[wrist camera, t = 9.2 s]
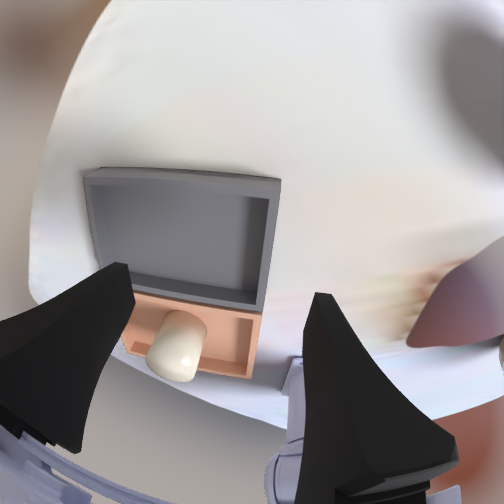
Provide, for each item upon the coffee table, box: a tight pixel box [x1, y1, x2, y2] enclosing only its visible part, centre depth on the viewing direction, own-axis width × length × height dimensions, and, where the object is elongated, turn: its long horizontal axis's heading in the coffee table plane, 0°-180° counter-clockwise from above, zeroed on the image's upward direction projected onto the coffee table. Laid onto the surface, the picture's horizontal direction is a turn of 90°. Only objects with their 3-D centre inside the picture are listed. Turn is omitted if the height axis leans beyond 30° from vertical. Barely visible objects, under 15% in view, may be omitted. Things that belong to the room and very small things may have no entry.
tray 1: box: [83, 167, 281, 312], centre depth 20 cm, size 14×10×2 cm
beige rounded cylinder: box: [145, 310, 207, 382], centre depth 23 cm, size 4×4×5 cm
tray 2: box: [121, 289, 262, 379], centre depth 25 cm, size 14×10×2 cm
